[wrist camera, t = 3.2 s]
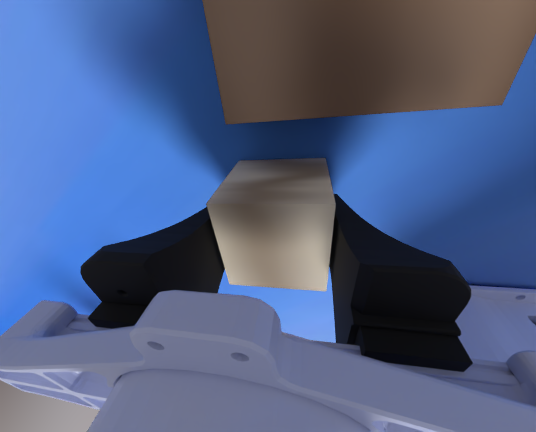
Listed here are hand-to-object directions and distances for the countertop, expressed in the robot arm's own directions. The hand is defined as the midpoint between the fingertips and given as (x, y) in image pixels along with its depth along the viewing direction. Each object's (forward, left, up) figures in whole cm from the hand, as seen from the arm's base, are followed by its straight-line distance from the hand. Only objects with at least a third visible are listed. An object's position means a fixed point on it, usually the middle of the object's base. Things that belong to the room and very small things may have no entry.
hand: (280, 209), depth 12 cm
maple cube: (0, 0, -1) cm, 1 cm away
